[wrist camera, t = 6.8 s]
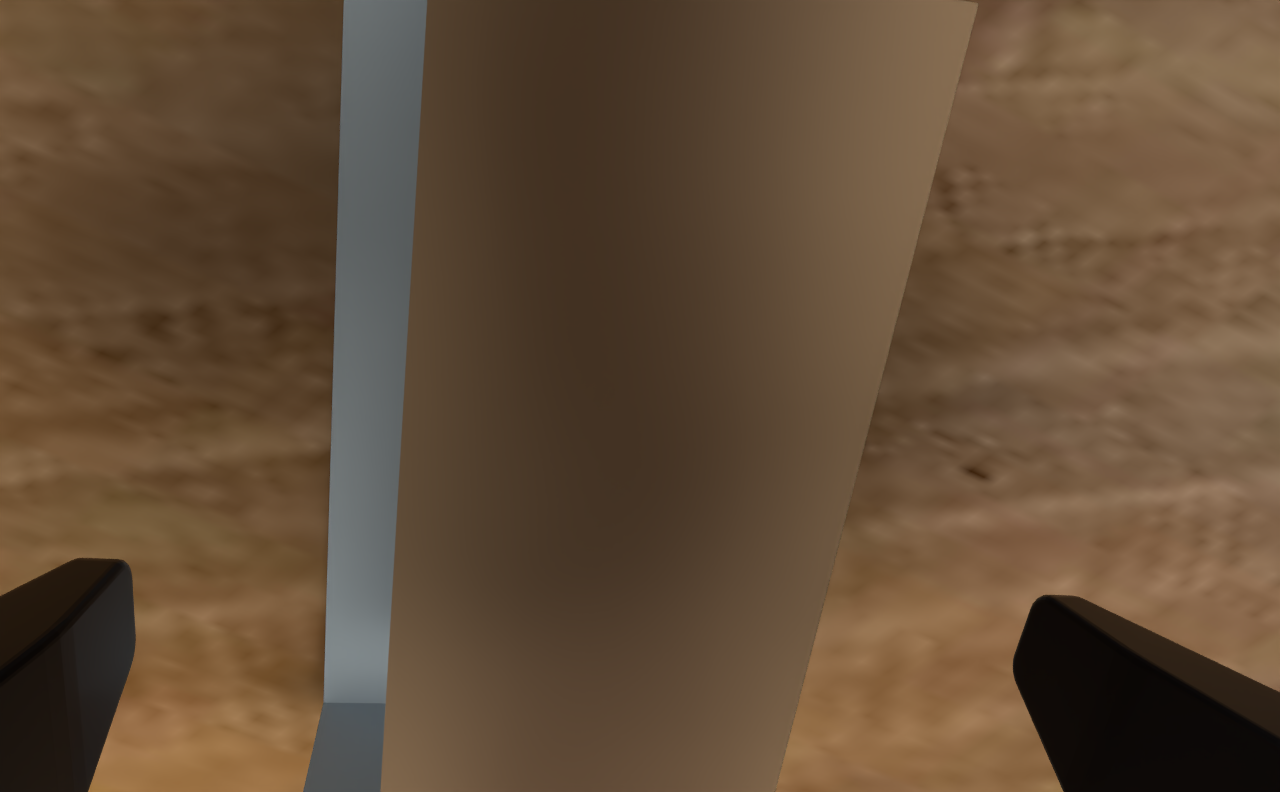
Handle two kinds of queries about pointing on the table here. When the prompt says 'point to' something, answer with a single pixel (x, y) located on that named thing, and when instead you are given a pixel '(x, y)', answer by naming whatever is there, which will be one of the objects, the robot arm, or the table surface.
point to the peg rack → (368, 379)
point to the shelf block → (644, 374)
